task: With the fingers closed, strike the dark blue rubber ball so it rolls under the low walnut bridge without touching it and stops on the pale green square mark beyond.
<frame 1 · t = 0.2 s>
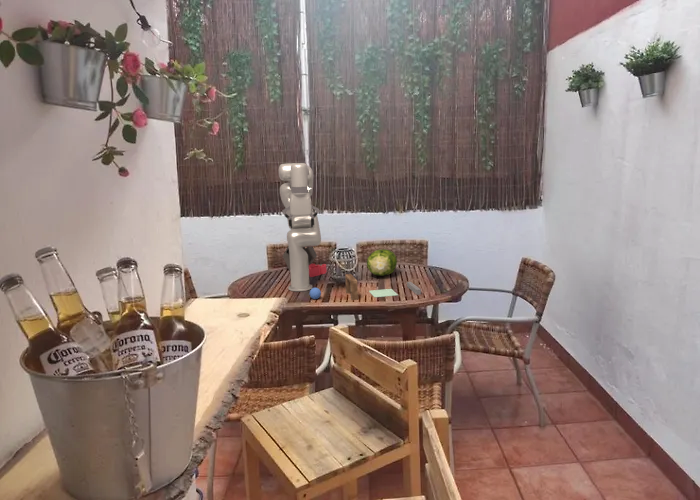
hand: (301, 227, 247), 36 cm above the table, tool pointing down, fingers open, 9 cm apart
bridge: (351, 295, 260), on the table
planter: (300, 270, 321), on the table
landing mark: (383, 293, 263), on the table
tape dispenser: (315, 275, 308), on the table
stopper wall: (413, 290, 266), on the table
ball: (315, 293, 256), on the table
lettuce: (381, 277, 297), on the table
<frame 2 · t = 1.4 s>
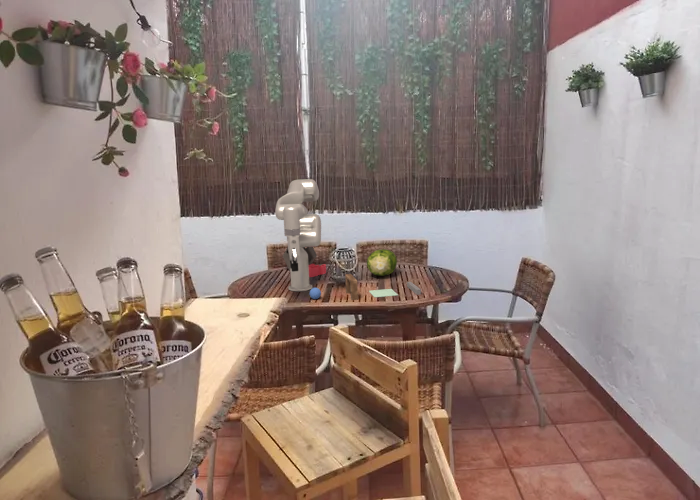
hand: (294, 269, 252), 16 cm above the table, tool pointing down, fingers open, 5 cm apart
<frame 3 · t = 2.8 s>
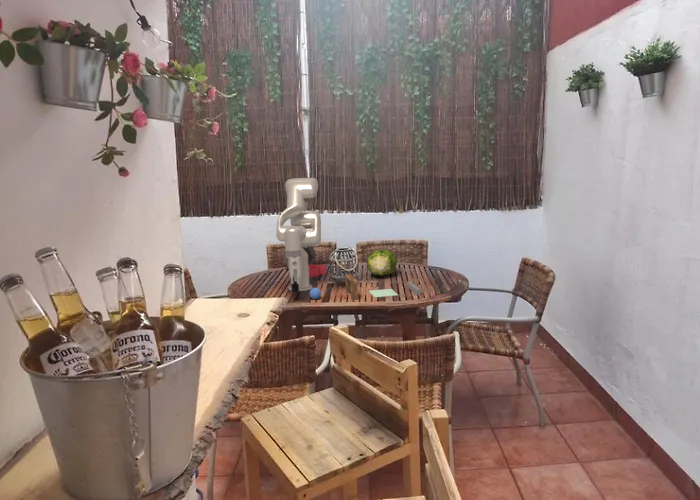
hand: (295, 291, 253), 5 cm above the table, tool pointing down, fingers closed
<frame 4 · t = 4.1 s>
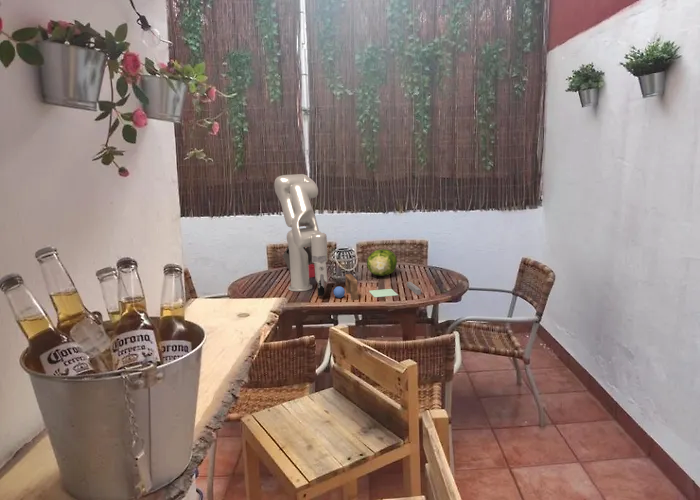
hand: (321, 295, 257), 2 cm above the table, tool pointing down, fingers closed
ball: (339, 292, 257), on the table
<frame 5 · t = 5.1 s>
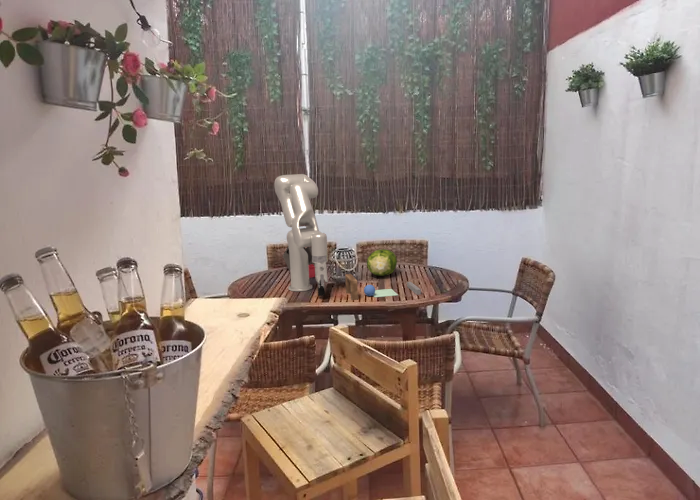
hand: (321, 295, 257), 2 cm above the table, tool pointing down, fingers closed
ball: (369, 290, 259), on the table
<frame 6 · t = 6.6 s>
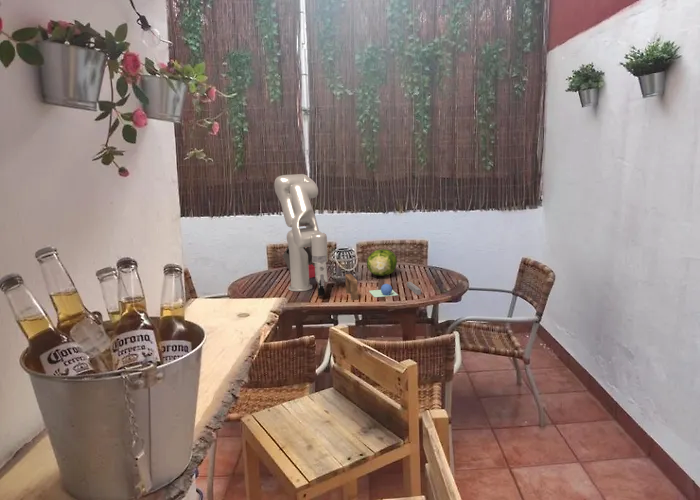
hand: (321, 295, 257), 2 cm above the table, tool pointing down, fingers closed
ball: (386, 289, 259), on the table
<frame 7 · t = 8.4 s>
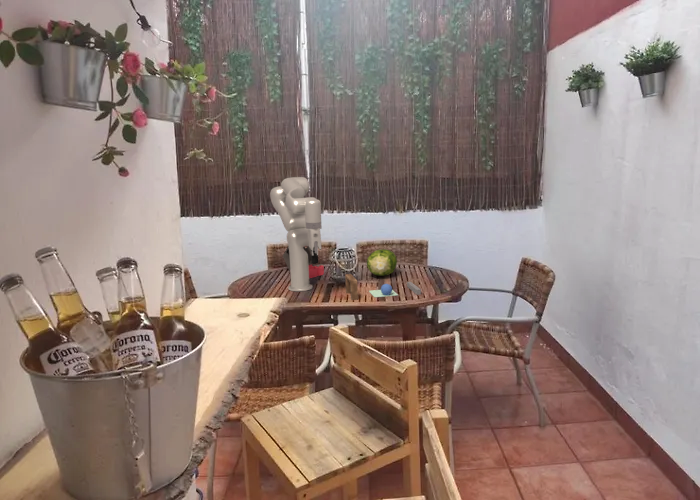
hand: (314, 263, 254), 18 cm above the table, tool pointing down, fingers closed
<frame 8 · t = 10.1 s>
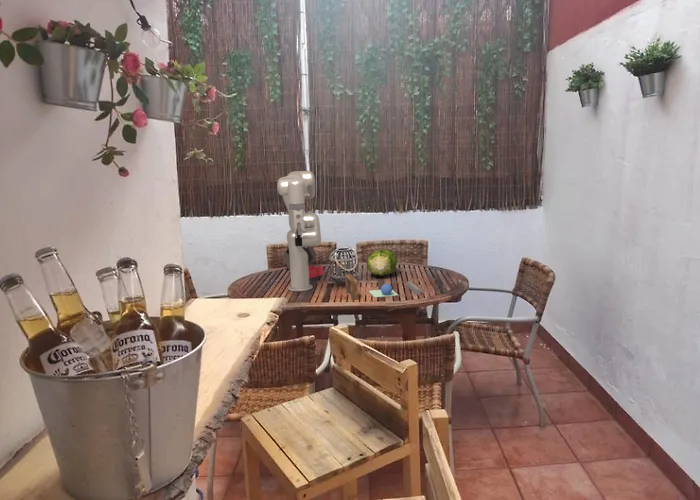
hand: (298, 245, 249), 27 cm above the table, tool pointing down, fingers closed
at the end: ball 3.8 cm from the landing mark (horizontally); ball never touched bridge; ball at rest at the end (0.0 cm/s) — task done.
